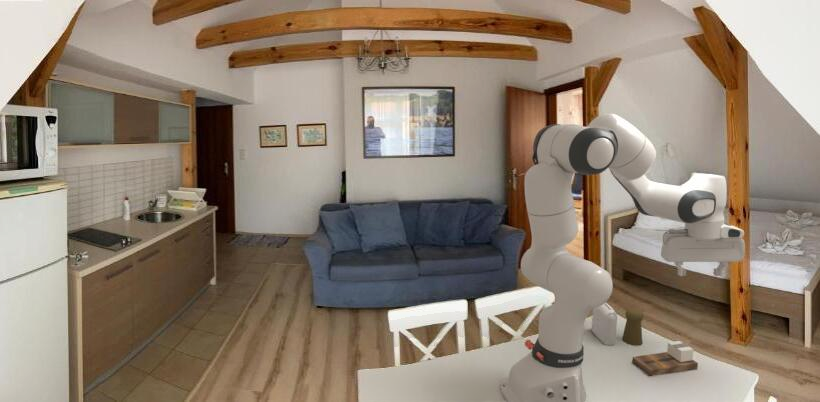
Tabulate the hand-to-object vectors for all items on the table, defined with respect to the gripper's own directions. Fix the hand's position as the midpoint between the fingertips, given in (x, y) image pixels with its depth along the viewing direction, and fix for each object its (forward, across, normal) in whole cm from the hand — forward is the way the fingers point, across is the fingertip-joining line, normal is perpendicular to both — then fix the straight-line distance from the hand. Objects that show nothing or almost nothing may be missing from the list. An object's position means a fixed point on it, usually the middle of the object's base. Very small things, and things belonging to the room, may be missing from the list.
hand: (699, 275), depth 116 cm
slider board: (+28, -8, -2) cm, 29 cm away
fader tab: (+26, -4, 0) cm, 26 cm away
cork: (+28, -12, +12) cm, 33 cm away
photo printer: (+28, -21, +13) cm, 38 cm away
